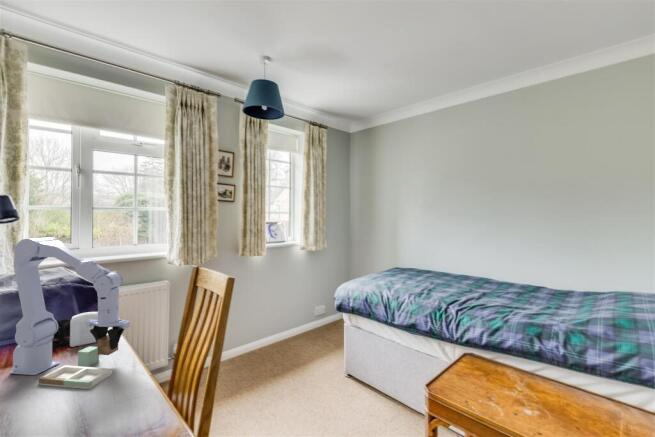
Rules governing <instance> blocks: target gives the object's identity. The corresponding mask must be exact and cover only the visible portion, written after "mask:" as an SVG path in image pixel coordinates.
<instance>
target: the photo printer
mask: <svg viewBox="0 0 655 437" xmlns="http://www.w3.org/2000/svg"><path fill="white" fill-rule="evenodd" d="M91 319H98V311H88V312H82V313H78V314H76V315H73V316H72V317H71V319H70V333H69V337H70V344H69V347H71V348H74V347H77V346H85V345H89V344H94V343H97V342H96V340H95V338H94V336H93V335H92V333H91V332H90V330H91V329H93V328H94V326H90V327H87V321H88V320H91Z"/></svg>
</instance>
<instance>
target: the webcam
mask: <svg viewBox="0 0 655 437" xmlns="http://www.w3.org/2000/svg"><path fill="white" fill-rule="evenodd" d="M56 321H57V323H58V330H57V332H56V333H55V334H54V338H53V339H52V349H53V348H54V349H55V348H60V347H64V346H68V345H70V336H68V334H69V335H70V322H71V319H69V318H59V319H58V320H56ZM66 336H67V337H66Z"/></svg>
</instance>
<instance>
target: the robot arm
mask: <svg viewBox="0 0 655 437" xmlns="http://www.w3.org/2000/svg"><path fill="white" fill-rule="evenodd" d="M12 249H13V254H14V260H13V266H12V267H13V269H14V270H13V271H14V276H15V281H16V285H17V286H16V287H17V290H18V297H19V301H20V305H21V306H20V307H21V311H22V318H20V320H19V321H18V322H17V323H16V325H15V330H16V331H15V334H14V341H15V343H16V344H17V346H16V347H15V349H14V350H13V353H12V370H11V371H9V374H12V375H13V374H14V375H16V374H17V375H25V376H26V375H28V376H37V375H39V374H41V373H42V372H44V371H46V370H49V369H51V368H53V367H56V365H59V364H60V361H54V360H53V348H52V341H53V339H55V338H54V334H55V333H56V332H57V330H58V323H57V321H58V320H56V319H55V316H54V313H52V312H50V311H48V310H47V309H46V303H45V298H44V292H43V287H42V282H41V277H40V272H39V265H40V264H41V263H43V262H44V260H46V259H48V258H55V259H57V260H59V261H60V262H62V263H64V264H66V265H68V266H70V267H72V268H74V269H75V273H76V275H78V276H80V277H82V279H84V280H87V281H88V282H90V283H91V284H93V288H94V290H95V292H96V293H97V294H96V295H97V312H98V319H91V320H88V321H87V327H90V326H94V328H93V329H91V330H90V332H91V333H92V335H93V336H94V338H95V340H96V342H95V343H96V344H97V346H98V339H100V338H102V337H105V336H107V335H109V339H110V348H111V350H113V349H115V348H117V347H118V348H119V343H120V339H121V336H122V335H123V333H124V331H125V330H127V329H128V328H130V326H131V324H130V322H131V321H129V320H125V319H122V318H121V317H119V316H120V315H119V314H120V313H119V309H120V308H119V306H120V305H119V304H120V303H119V301H120V297H119V296H120V289H119V288H120V287H121V285H122V283H123V276H122V275H121V274H120V273H119V271H116V270H115V271H114V270H113V271H110V269H109V268H105V267H103V266H101V265H100V264H98V263H99V262H98V261H97V260H91V259H88V260H85V259H83V258H82V257H80V256H79V255H78V254H76V253H75V252H74V251H72V250H71V249H69V248H68V247H66V246H65V245H64V242H63V241H60V240H58V239H57V238H55V237H53V236H47V237H37V238H36V237H35V238H23V239H21V240H20V241H18V242H17V243H16V244H15V245H14V246H13V248H12ZM109 328H110V329H109Z"/></svg>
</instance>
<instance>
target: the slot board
mask: <svg viewBox="0 0 655 437" xmlns="http://www.w3.org/2000/svg"><path fill="white" fill-rule="evenodd" d="M112 372H113V370H112V368H106V367H94V366H93V367H92V366H89V367H86V366H78V365H69V364H68V365H67V364H65V365H63V366H61V367H59V368H56V369H55V370H52V371H51V372H49V373H46V374H45V375H43V376H40V377H38V385H39V386H50V387H51V386H52V387H61V388H62V387H63V388H74V389H85V390H87V389H88V390H89V389H91V388H92V387H94V386H96V385H97V384H98V383H101V382H102V381H104V380H105V379H107V378H108V377H110V376H112Z"/></svg>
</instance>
